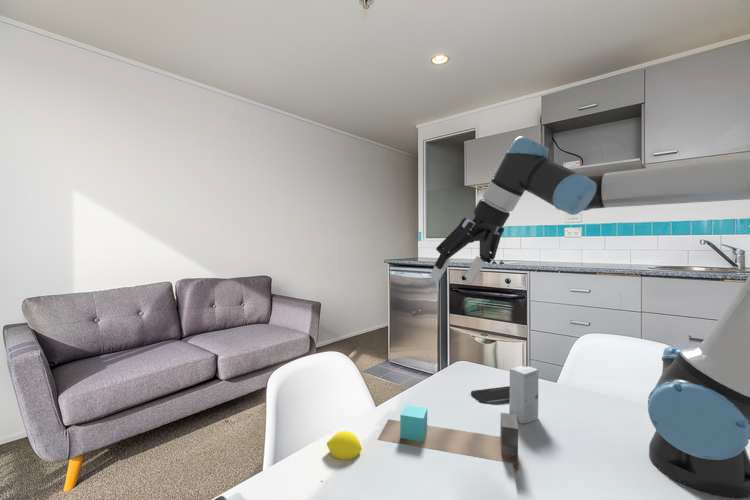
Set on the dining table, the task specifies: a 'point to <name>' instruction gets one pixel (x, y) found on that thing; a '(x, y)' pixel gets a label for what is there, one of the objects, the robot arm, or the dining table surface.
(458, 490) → the dining table surface
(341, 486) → the dining table surface
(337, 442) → the lemon
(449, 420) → the dining table surface
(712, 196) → the robot arm
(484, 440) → the walnut strip
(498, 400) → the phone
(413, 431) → the teal block
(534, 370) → the skincare box
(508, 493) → the dining table surface
